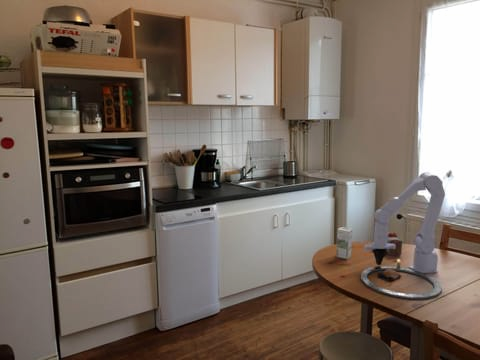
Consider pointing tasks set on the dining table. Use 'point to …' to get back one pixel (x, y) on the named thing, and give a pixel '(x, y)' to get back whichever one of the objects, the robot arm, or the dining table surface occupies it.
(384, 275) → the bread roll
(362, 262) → the dining table surface
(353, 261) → the dining table surface
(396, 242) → the food item
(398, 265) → the turntable ring
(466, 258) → the dining table surface
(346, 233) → the syrup box
